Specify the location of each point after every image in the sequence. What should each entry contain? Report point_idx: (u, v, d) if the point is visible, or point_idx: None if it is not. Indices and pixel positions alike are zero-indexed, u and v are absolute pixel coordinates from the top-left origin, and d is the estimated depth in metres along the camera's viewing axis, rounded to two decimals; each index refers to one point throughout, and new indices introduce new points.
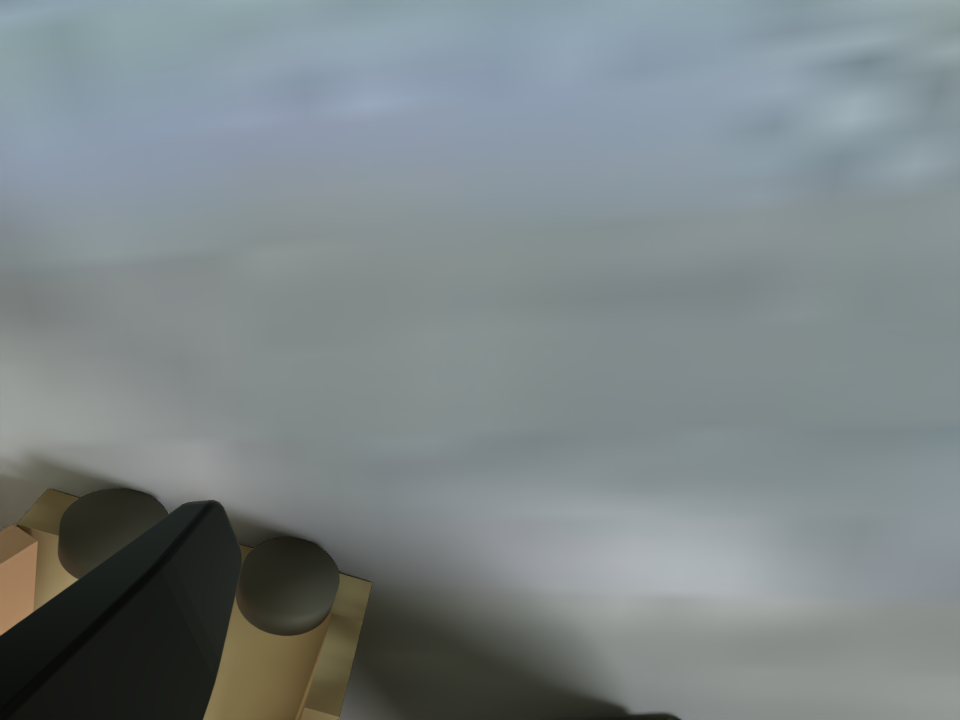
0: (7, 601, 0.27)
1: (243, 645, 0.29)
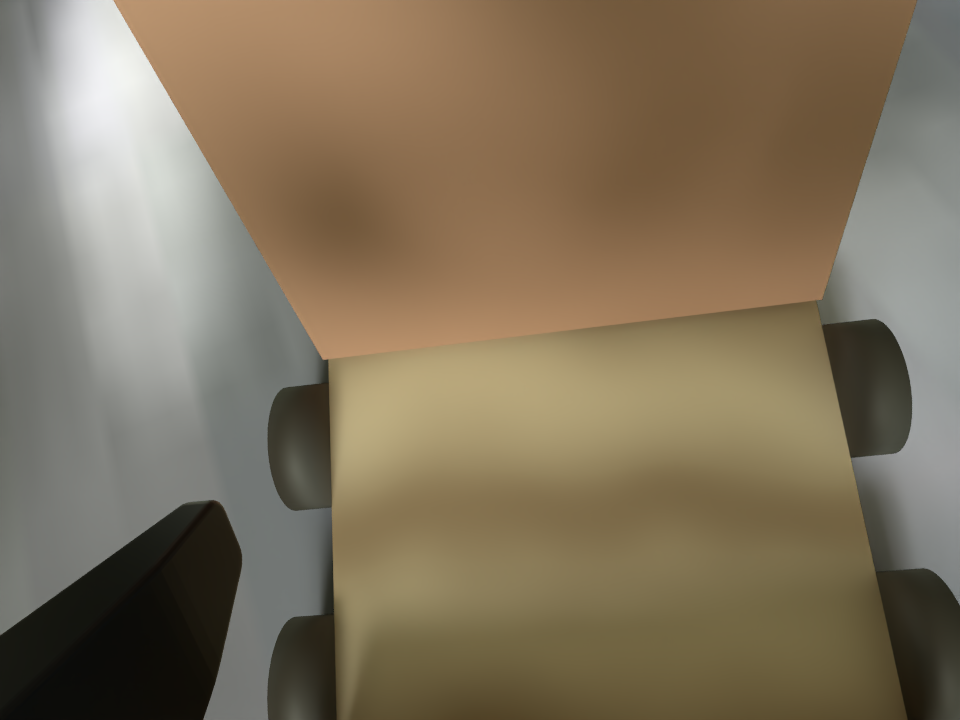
0: (742, 282, 0.19)
1: (750, 617, 0.19)
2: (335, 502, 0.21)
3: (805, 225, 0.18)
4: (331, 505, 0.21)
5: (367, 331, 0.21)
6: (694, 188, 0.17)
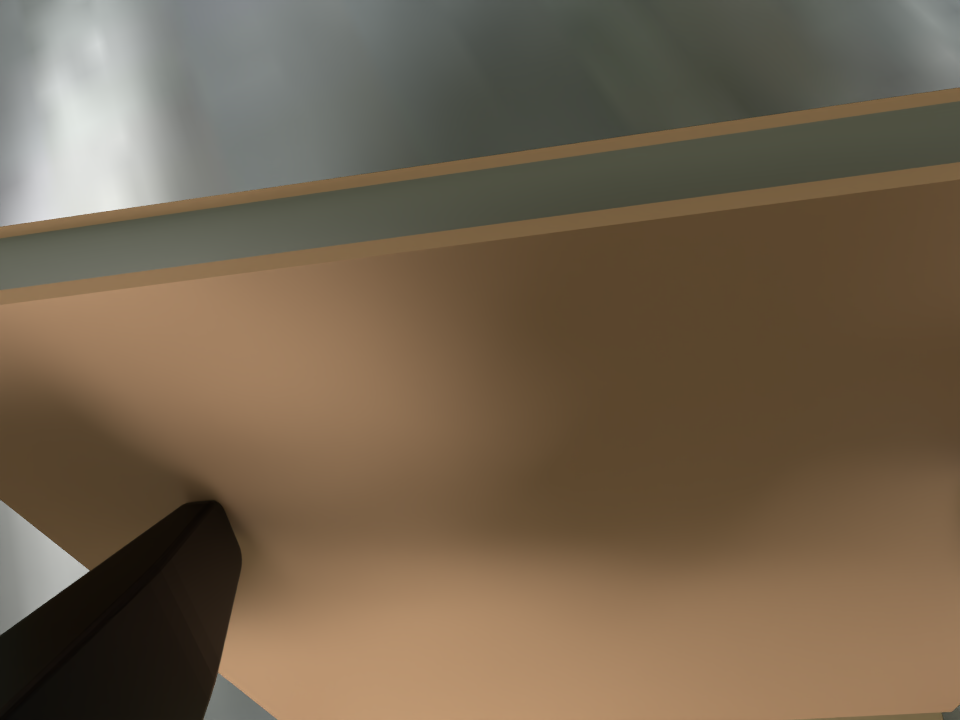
0: (852, 701, 0.15)
1: None
2: None
3: (946, 665, 0.13)
4: None
5: None
6: (803, 640, 0.12)
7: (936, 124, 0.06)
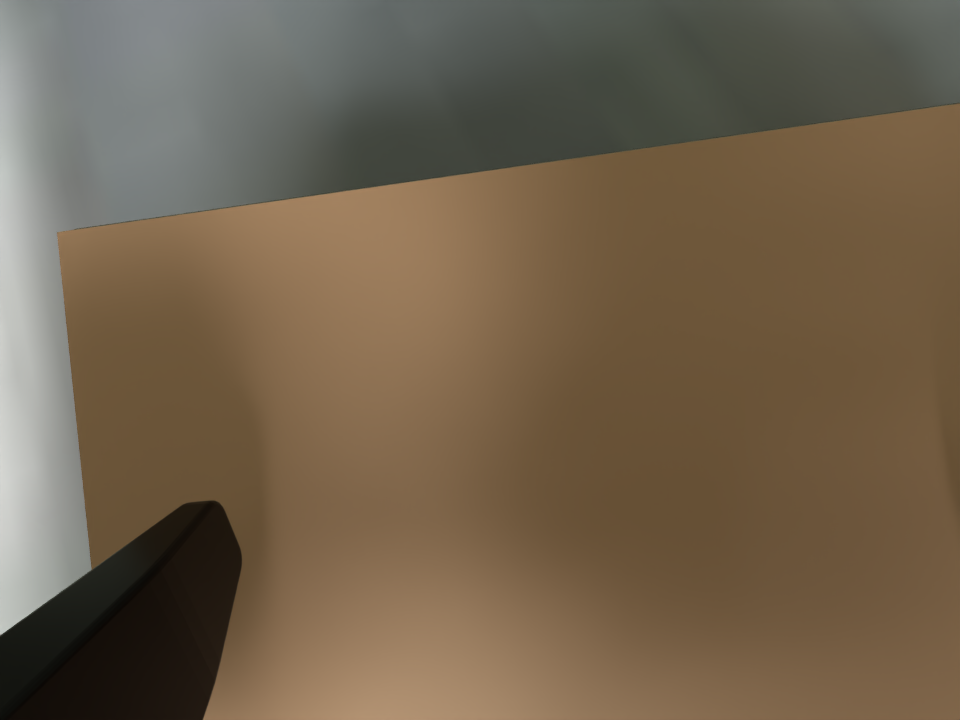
0: None
1: None
2: None
3: None
4: None
5: None
6: None
7: (776, 129, 0.10)
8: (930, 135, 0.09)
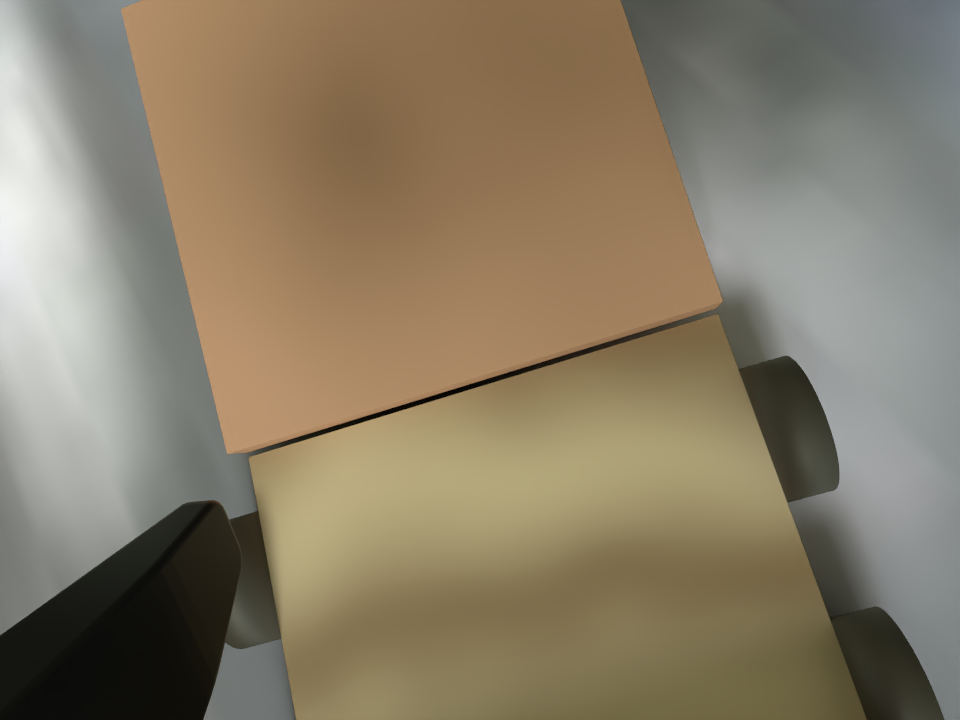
0: (625, 286, 0.19)
1: (713, 687, 0.18)
2: (284, 634, 0.21)
3: (651, 206, 0.19)
4: (281, 637, 0.21)
5: (272, 400, 0.21)
6: (533, 181, 0.20)
7: None
8: None
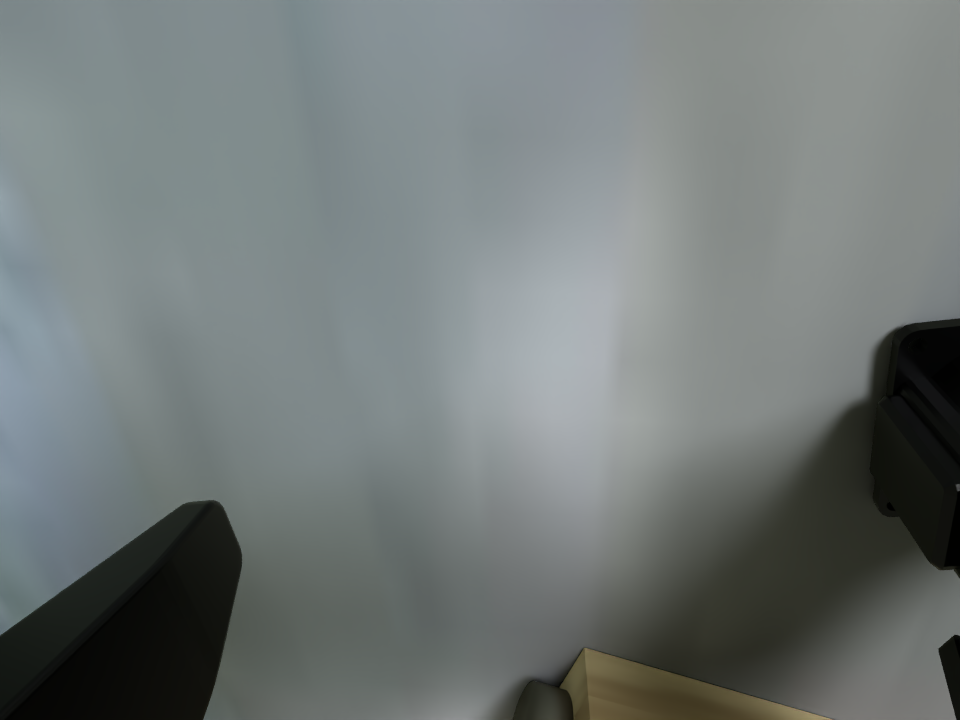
0: None
1: None
2: None
3: None
4: None
5: None
6: None
7: None
8: None
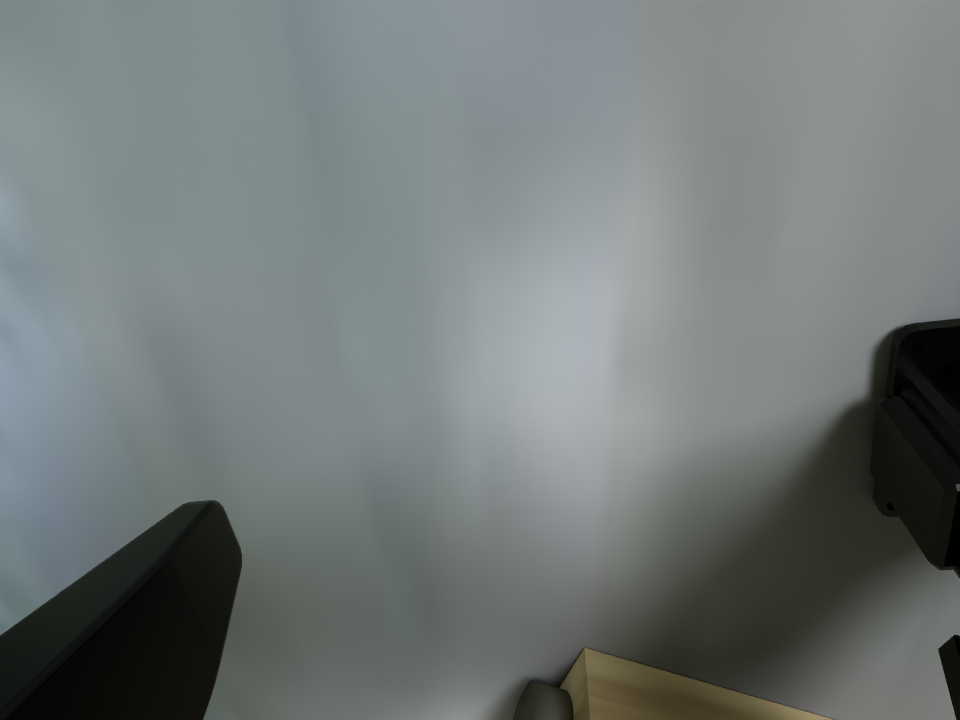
0: None
1: None
2: None
3: None
4: None
5: None
6: None
7: None
8: None
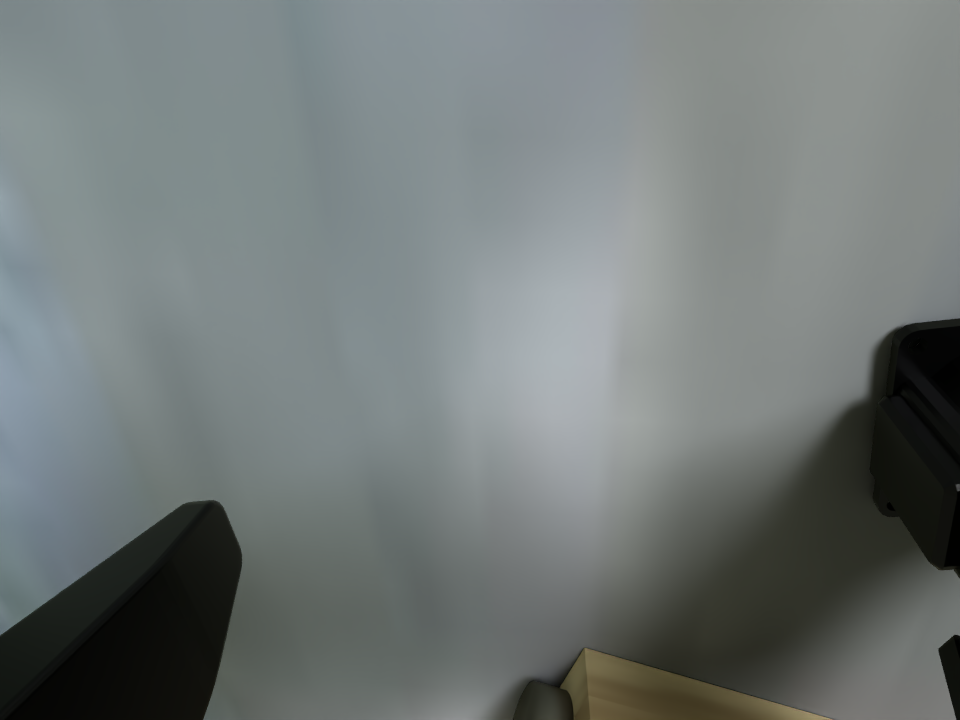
0: None
1: None
2: None
3: None
4: None
5: None
6: None
7: None
8: None
